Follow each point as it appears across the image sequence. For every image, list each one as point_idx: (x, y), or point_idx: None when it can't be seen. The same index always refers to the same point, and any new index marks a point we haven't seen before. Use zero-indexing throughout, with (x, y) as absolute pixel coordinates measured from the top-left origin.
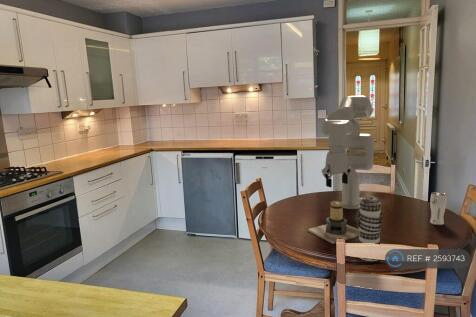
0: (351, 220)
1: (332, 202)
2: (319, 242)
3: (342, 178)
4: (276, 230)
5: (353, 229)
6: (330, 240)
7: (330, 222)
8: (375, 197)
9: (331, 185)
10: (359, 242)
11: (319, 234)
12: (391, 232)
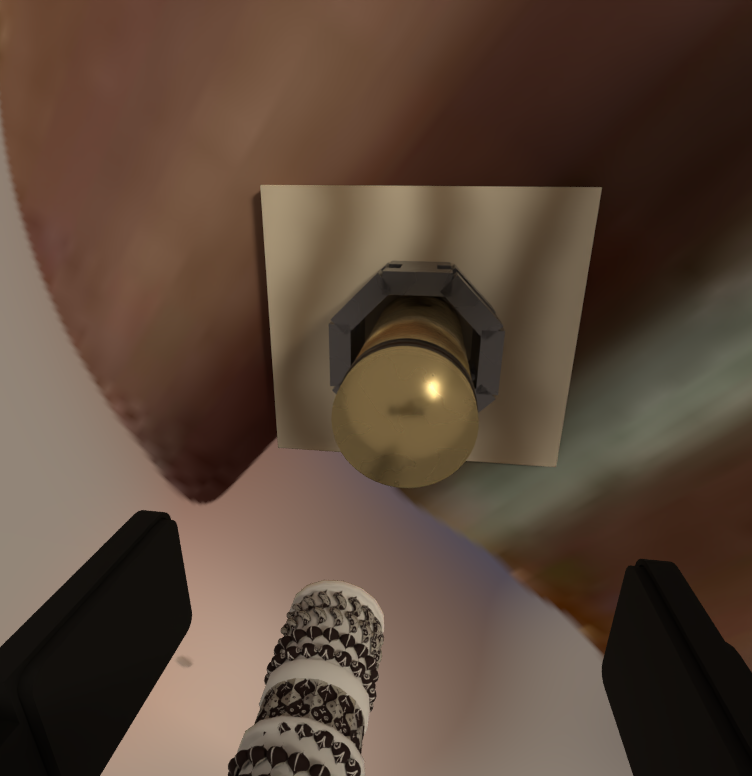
0: (735, 201)
1: (370, 388)
2: (227, 383)
3: (674, 676)
4: (51, 21)
5: (535, 387)
6: (277, 426)
7: (330, 375)
8: None
9: (165, 655)
10: (267, 668)
11: (274, 318)
12: (712, 526)
